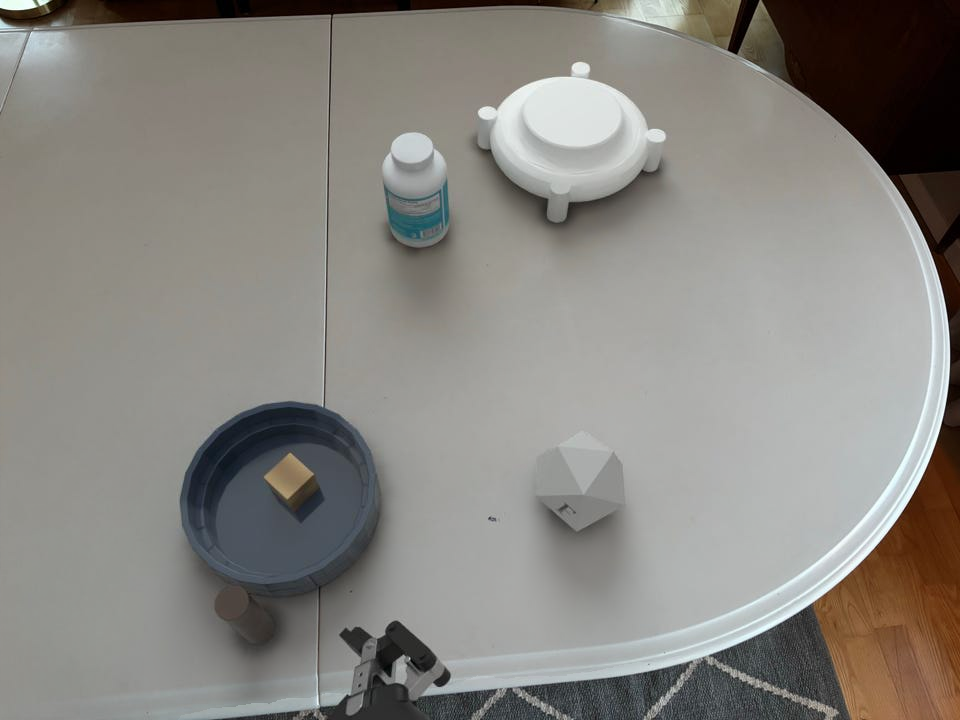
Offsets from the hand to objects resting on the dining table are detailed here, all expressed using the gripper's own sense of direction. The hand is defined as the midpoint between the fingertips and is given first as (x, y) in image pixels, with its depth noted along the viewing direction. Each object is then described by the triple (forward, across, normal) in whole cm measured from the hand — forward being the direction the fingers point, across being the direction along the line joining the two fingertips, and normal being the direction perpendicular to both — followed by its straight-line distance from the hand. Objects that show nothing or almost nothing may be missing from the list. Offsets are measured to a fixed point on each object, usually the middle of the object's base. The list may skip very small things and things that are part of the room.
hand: (305, 685), depth 56 cm
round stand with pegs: (+30, -67, -8) cm, 74 cm away
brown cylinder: (+19, 0, +4) cm, 19 cm away
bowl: (+24, -10, -1) cm, 26 cm away
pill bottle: (+34, -45, -12) cm, 58 cm away
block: (+24, -12, -2) cm, 26 cm away
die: (+9, -30, +13) cm, 34 cm away
